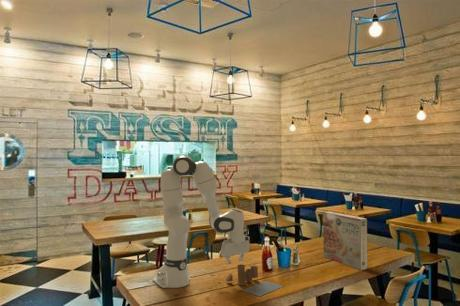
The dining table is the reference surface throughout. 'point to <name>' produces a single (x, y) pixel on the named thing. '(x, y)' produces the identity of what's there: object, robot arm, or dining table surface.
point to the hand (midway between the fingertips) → (234, 262)
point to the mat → (262, 288)
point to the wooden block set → (244, 274)
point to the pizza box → (345, 239)
